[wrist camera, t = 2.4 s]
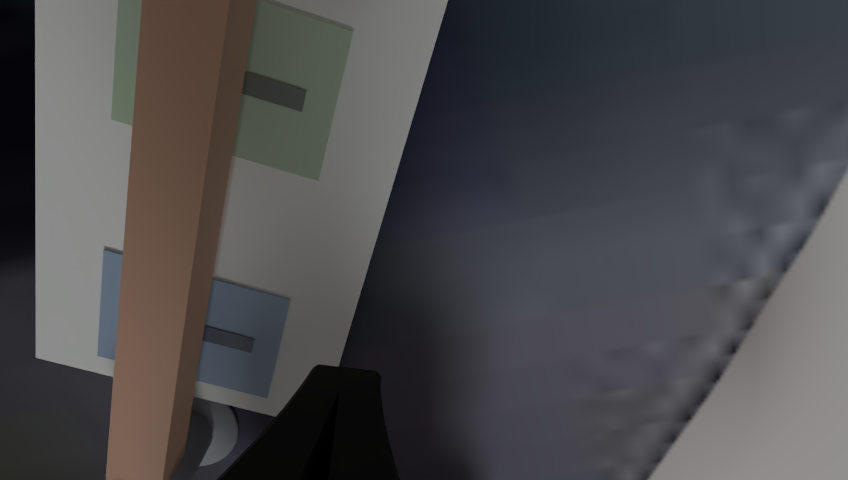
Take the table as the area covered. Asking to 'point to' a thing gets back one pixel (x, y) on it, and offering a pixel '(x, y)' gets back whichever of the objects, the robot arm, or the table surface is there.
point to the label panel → (230, 187)
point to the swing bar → (173, 229)
